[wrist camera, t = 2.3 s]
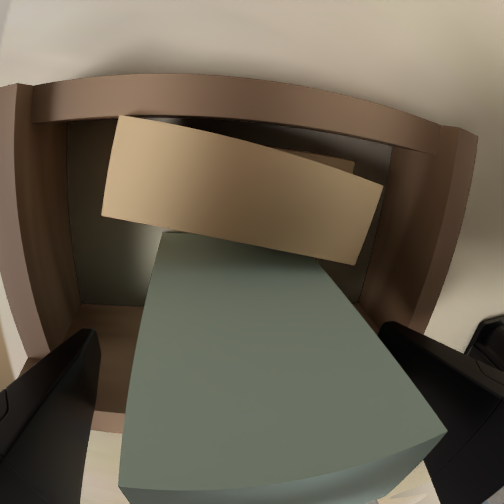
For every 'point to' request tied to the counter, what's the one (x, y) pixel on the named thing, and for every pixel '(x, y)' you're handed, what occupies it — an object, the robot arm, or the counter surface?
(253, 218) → the offcut top
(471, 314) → the counter surface
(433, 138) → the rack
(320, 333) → the grey-green rectangular block
